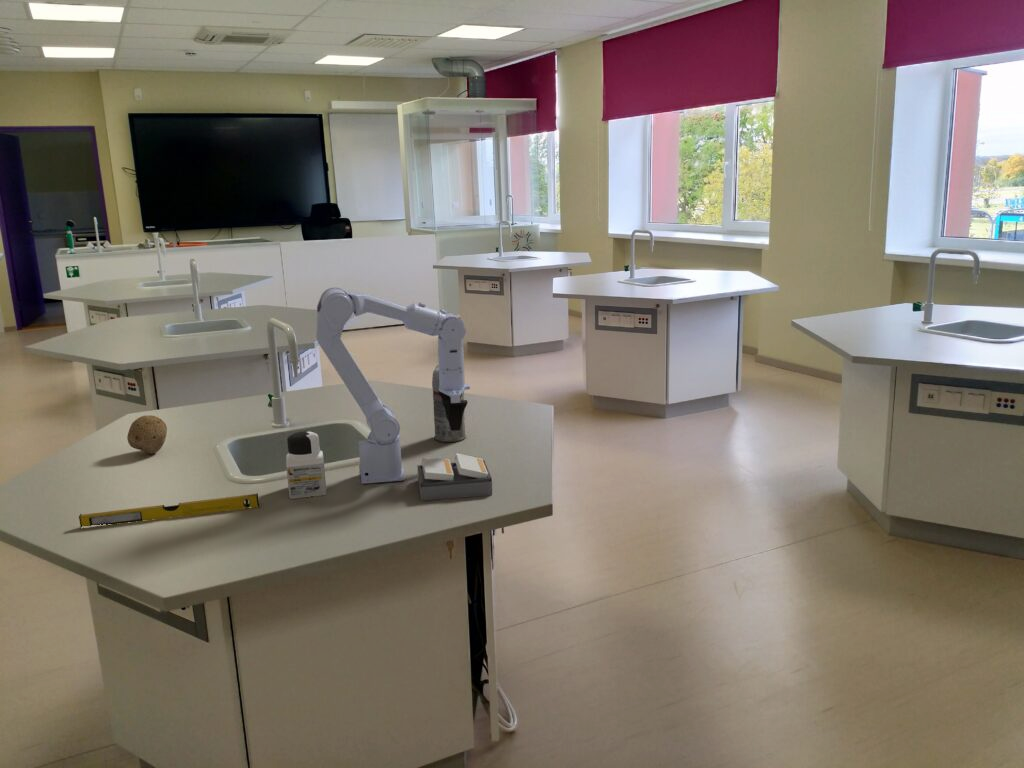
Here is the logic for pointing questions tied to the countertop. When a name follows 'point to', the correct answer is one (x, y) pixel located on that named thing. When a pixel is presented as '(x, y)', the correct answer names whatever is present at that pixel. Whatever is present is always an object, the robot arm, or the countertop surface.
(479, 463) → the rocker right
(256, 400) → the countertop surface
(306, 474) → the container
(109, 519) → the spirit level
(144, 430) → the brown potato
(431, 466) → the panel
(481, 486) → the grey divided tray
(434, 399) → the spray can
